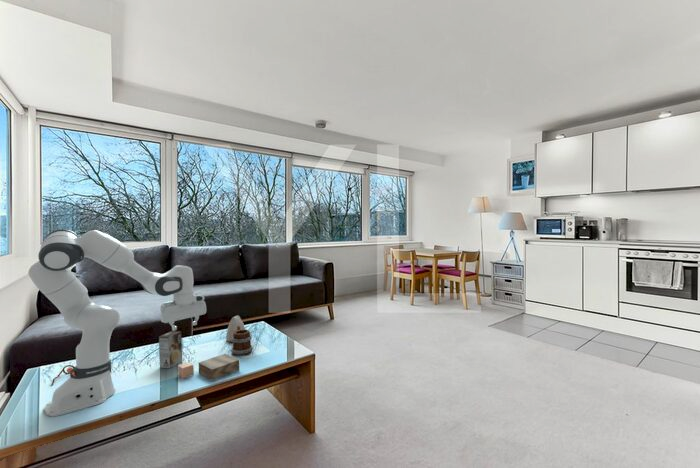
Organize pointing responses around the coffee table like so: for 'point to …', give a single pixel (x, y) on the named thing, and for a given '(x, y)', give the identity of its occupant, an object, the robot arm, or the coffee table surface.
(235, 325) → the sculpture
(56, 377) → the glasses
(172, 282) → the robot arm
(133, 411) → the coffee table surface
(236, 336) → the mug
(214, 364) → the block
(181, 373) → the cube
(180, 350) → the coffee box
